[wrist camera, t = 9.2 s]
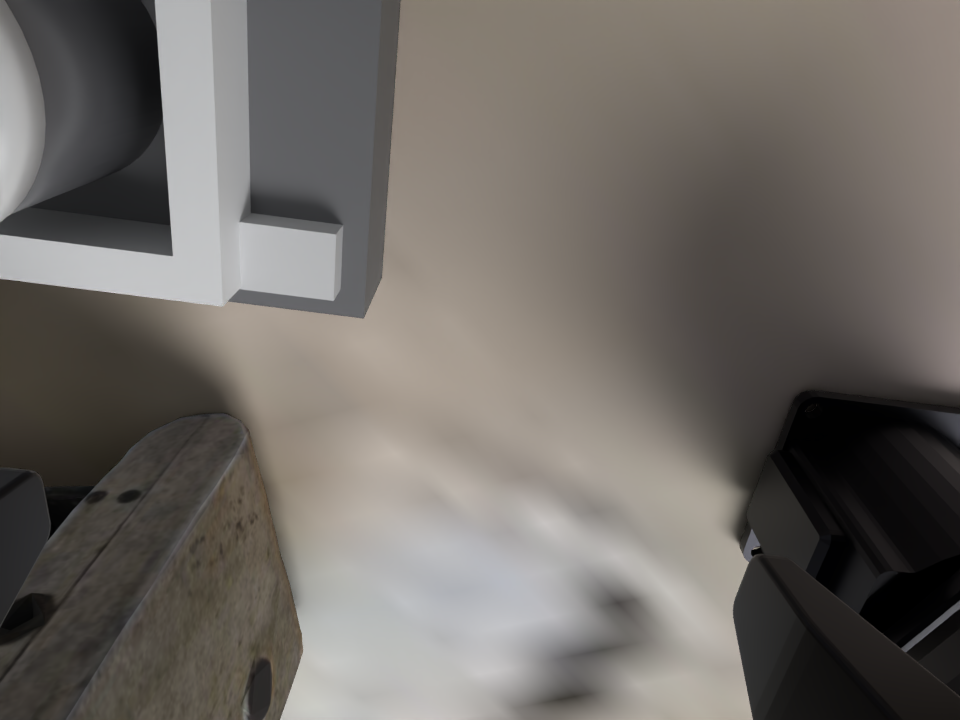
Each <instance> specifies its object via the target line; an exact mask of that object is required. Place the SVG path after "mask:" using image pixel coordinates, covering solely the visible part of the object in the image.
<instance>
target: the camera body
mask: <svg viewBox="0 0 960 720" xmlns="http://www.w3.org/2000/svg"><path fill="white" fill-rule="evenodd" d="M141 1H142V3H143V4H144V6H145V8H146V9H147V11H148V13H149V15H150V17H151V19H152V21H153V23H154V25H155V28H156V30H157V39H158V53H159V67H160V81H161V95H162V109H163V120H162V123H161V125H160V128H159V130H158V132H157V134H156V136H155V138H154V139H153V141H152V142H151V144H150V146H149V147H148V148H147V149H146V150H145V151H144V153H143V154H142V155H141V156H140V157H139V158H138V159H136V160H135V161H134V162H133V163H131V164H130V165H128V166H127V167H125V168H123V169H121V170H120V171H118V172H115V173H113V174H110V175H108V176H105V177H103V178H100V179H98V180H95V181H93V182H90V183H88V184H85V185H83V186H80V187H78V188H75V189H73V190H70V191H68V192H65V193H63V194H60V195H58V196H55V197H53V198H50V199H48V200H45V201H43V202H40V203H38V204H35V205H33V206H30V207H28V208H25V209H23V210H20V211H18V212H15V213H13V214H10V215H9V216H8V217H6V218H5V219H4V220H3V221H2V222H1V223H0V279H6V280H14V281H22V282H30V283H38V284H46V285H54V286H62V287H70V288H78V289H86V290H94V291H102V292H110V293H118V294H126V295H134V296H142V297H150V298H158V299H166V300H174V301H182V302H190V303H198V304H206V305H214V306H222V307H223V306H224V305H225V304H226V303H227V302H228V301H229V302H237V303H245V304H253V305H261V306H269V307H277V308H285V309H293V310H301V311H309V312H317V313H325V314H333V315H340V316H348V317H356V318H364V317H365V314H366V312H367V310H368V308H369V305H370V303H371V301H372V299H373V296H374V294H375V292H376V290H377V287H378V285H379V283H380V281H381V278H382V266H383V251H384V236H385V222H386V207H387V192H388V177H389V163H390V148H391V133H392V118H393V104H394V89H395V74H396V59H397V45H398V30H399V15H400V0H141Z"/></svg>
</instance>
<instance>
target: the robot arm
mask: <svg viewBox="0 0 960 720" xmlns="http://www.w3.org/2000/svg"><path fill="white" fill-rule="evenodd" d="M812 404H817V406H816V407H815V409H814V410H812V411H809V412H805V410H806V409H807V407H808V406H810V405H812ZM746 517H747V520H748V522H747V525H746V528H745V530H744V533H743V536H742V538H741V541H740V549H741V551H742V553H743V555H744V558H745V559H746V560H747V561H748V562H749V564H748V566H747V569H746V572H745V574H744V577H743V579H742V582H741V584H740V587H739V590H738V592H737V595H736V597H735V601H734V606H733V618H734V624H735V629H736V635H737V640H738V645H739V650H740V655H741V660H742V665H743V671H744V676H745V681H746V686H747V691H748V696H749V701H750V707H751V712H752V717H753V720H960V408H952V407H944V406H936V405H928V404H920V403H912V402H904V401H895V400H887V399H879V398H871V397H863V396H855V395H847V394H839V393H831V392H823V391H815V390H811V391H805V392H803V393H800V394H799V395H798V396H797V397H796V398H795V399H794V401H793V403H792V405H791V408H790V410H789V413H788V416H787V418H786V421H785V424H784V426H783V429H782V432H781V434H780V437H779V440H778V442H777V445H776V448H775V450H774V451H773V452H771V453H770V454H769V455H768V457H767V460H766V462H765V465H764V468H763V470H762V473H761V476H760V478H759V481H758V484H757V486H756V489H755V492H754V495H753V497H752V500H751V503H750V505H749V508H748V511H747V513H746ZM50 527H51V523H50V516H49V511H48V506H47V500H46V495H45V489H44V484H43V480H42V478H41V476H40V475H39V474H38V473H37V472H35V471H33V470H26V469H17V468H0V627H1V625H2V623H3V621H4V619H5V618H6V616H7V614H8V612H9V610H10V608H11V607H12V605H13V603H14V601H15V599H16V598H17V596H18V594H19V592H20V590H21V588H22V587H23V585H24V583H25V581H26V579H27V578H28V576H29V574H30V572H31V570H32V568H33V567H34V565H35V563H36V561H37V559H38V558H39V556H40V554H41V552H42V550H43V548H44V547H45V545H46V543H47V540H48V537H49V534H50ZM756 546H761V547H760V548H758V549H754V550H752V549H753V548H754V547H756Z"/></svg>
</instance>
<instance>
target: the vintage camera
mask: <svg viewBox="0 0 960 720" xmlns="http://www.w3.org/2000/svg"><path fill="white" fill-rule="evenodd" d="M44 489H45V495H46V500H47V506H48V511H49V516H50V523H51V527H50V534H49V537H48V540H47V543H46V545H45V547H44V548H43V550H42V552H41V554H40V556H39V558H38V559H37V561H36V563H35V565H34V567H33V568H32V570H31V572H30V574H29V576H28V578H27V579H26V581H25V583H24V585H23V587H22V588H21V590H20V592H19V594H18V596H17V598H16V599H15V601H14V603H13V605H12V607H11V608H10V610H9V612H8V614H7V616H6V618H5V619H4V621H3V623H2V625H1V627H0V720H280V718H281V715H282V712H283V710H284V707H285V704H286V701H287V698H288V695H289V692H290V689H291V687H292V684H293V681H294V678H295V675H296V672H297V669H298V666H299V663H300V659H301V656H302V653H303V645H302V633H301V630H300V626H299V622H298V618H297V613H296V609H295V605H294V600H293V596H292V592H291V588H290V584H289V580H288V577H287V573H286V570H285V567H284V564H283V561H282V558H281V554H280V551H279V547H278V542H277V536H276V532H275V529H274V525H273V521H272V517H271V513H270V508H269V504H268V500H267V496H266V492H265V488H264V485H263V481H262V478H261V474H260V470H259V467H258V463H257V460H256V456H255V453H254V449H253V445H252V441H251V437H250V433H249V430H248V429H247V428H246V426H245V425H244V424H243V423H242V422H241V420H239V419H236V418H234V417H232V416H229V415H227V414H225V413H217V414H201V415H194V416H188V417H183V418H179V419H177V420H175V421H173V422H170V423H168V424H166V425H164V426H162V427H159V428H157V429H155V430H153V431H151V432H150V433H148V434H147V435H146V436H145V437H144V438H142V439H141V440H140V441H139V442H137V443H136V444H135V445H134V446H133V447H131V448H130V449H129V451H128V452H127V453H126V454H125V456H124V457H123V458H122V460H121V461H120V462H119V463H118V464H117V465H116V466H115V467H114V468H113V469H112V470H111V471H109V472H108V473H107V474H106V475H105V476H104V477H103V478H102V479H101V481H100V482H99V483H98V484H97V485H96V486H57V487H44Z"/></svg>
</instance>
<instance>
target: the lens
mask: <svg viewBox="0 0 960 720" xmlns="http://www.w3.org/2000/svg"><path fill="white" fill-rule="evenodd" d="M162 120H163V109H162V95H161V81H160V67H159V53H158V39H157V30H156V28H155V25H154V23H153V21H152V19H151V17H150V15H149V13H148V11H147V9H146V8H145V6H144V4H143V3H142V1H141V0H0V223H1V222H2V221H3V220H4V219H5V218H6V217H8V216H9V215H10V214H13V213H15V212H18V211H20V210H23V209H25V208H28V207H30V206H33V205H35V204H38V203H40V202H43V201H45V200H48V199H50V198H53V197H55V196H58V195H60V194H63V193H65V192H68V191H70V190H73V189H75V188H78V187H80V186H83V185H85V184H88V183H90V182H93V181H95V180H98V179H100V178H103V177H105V176H108V175H110V174H113V173H115V172H118V171H120V170H121V169H123V168H125V167H127V166H128V165H130V164H131V163H133V162H134V161H135V160H136V159H138V158H139V157H140V156H141V155H142V154H143V153H144V151H145V150H146V149H147V148H148V147H149V146H150V144H151V142H152V141H153V139H154V138H155V136H156V134H157V132H158V130H159V128H160V125H161V123H162Z"/></svg>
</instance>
